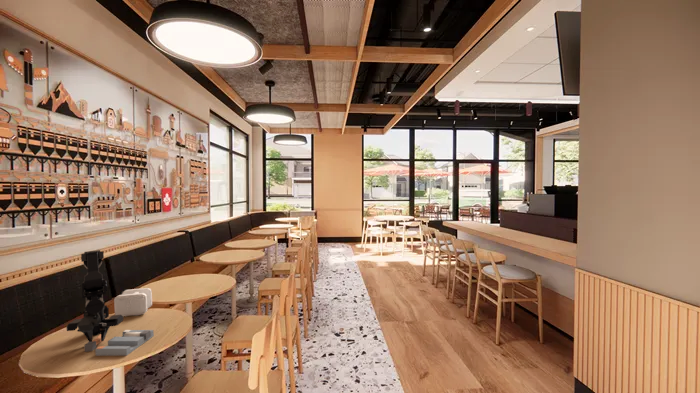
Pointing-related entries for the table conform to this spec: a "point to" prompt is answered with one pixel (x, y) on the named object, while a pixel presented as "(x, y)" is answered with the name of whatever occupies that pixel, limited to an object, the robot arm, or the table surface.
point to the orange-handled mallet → (92, 344)
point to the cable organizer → (133, 302)
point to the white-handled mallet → (139, 334)
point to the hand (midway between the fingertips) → (96, 341)
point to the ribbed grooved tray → (122, 344)
